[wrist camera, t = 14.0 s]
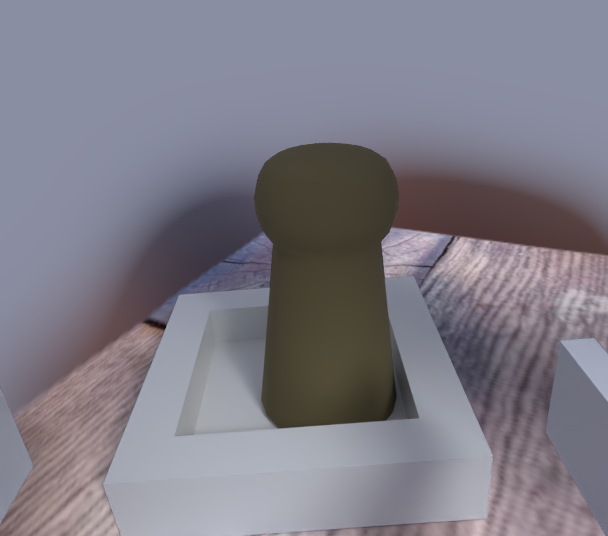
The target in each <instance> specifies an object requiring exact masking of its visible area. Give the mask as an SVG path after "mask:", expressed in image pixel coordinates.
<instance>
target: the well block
mask: <svg viewBox="0 0 608 536" xmlns="http://www.w3.org/2000/svg"><path fill="white" fill-rule="evenodd" d="M385 286H386V296H387V306H388V316H389V326H390V336H391V346H392V356H393V366H394V376H395V386H396V396H397V397H396V401H395V405H394V410H393V412H392V414H391V415H390V416H389V418H388V419H387V420H386V421H376V422H363V423H349V424H335V425H322V426H308V427H295V428H281V429H280V428H278V427H277V425H276V424H275V423H274V422H273V421H272V420H271V419H270V418H269V417H268V416H267V415H266V412H265V409H264V407H263V404H262V401H261V396H262V383H263V370H264V356H265V343H266V330H267V317H268V304H269V291H270V288H257V289H245V290H232V291H220V292H207V293H195V294H182V295H179V297H178V299H177V302H176V304H175V306H174V309H173V311H172V314H171V316H170V319H169V321H168V324H167V326H166V329H165V331H164V334H163V336H162V339H161V341H160V344H159V346H158V349H157V351H156V354H155V356H154V359H153V361H152V364H151V366H150V369H149V371H148V374H147V376H146V379H145V381H144V384H143V386H142V388H141V391H140V393H139V396H138V398H137V401H136V403H135V406H134V408H133V411H132V413H131V416H130V418H129V421H128V423H127V426H126V428H125V431H124V433H123V436H122V438H121V441H120V443H119V446H118V448H117V451H116V453H115V456H114V458H113V461H112V463H111V466H110V468H109V470H108V473H107V475H106V478H105V480H104V483H103V486H104V489H105V491H106V494H107V497H108V500H109V503H110V506H111V509H112V511H113V514H114V517H115V520H116V523H117V526H118V528H119V531H120V534H121V536H241V535H256V534H270V533H285V532H299V531H313V530H328V529H342V528H357V527H371V526H386V525H400V524H414V523H429V522H443V521H458V520H472V519H487V511H488V501H489V491H490V482H491V472H492V462H493V455H492V453H491V450H490V448H489V446H488V443H487V441H486V439H485V437H484V434H483V432H482V430H481V428H480V425H479V423H478V421H477V418H476V416H475V414H474V412H473V409H472V407H471V405H470V403H469V400H468V398H467V396H466V393H465V391H464V389H463V387H462V384H461V382H460V380H459V378H458V375H457V373H456V371H455V369H454V366H453V364H452V362H451V359H450V357H449V355H448V353H447V350H446V348H445V346H444V344H443V341H442V339H441V337H440V334H439V332H438V330H437V328H436V325H435V323H434V321H433V319H432V316H431V314H430V312H429V309H428V307H427V305H426V303H425V300H424V298H423V296H422V294H421V291H420V289H419V287H418V284H417V282H416V280H415V278H414V276H407V277H394V278H385Z"/></svg>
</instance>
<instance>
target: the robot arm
mask: <svg viewBox="0 0 608 536" xmlns="http://www.w3.org/2000/svg"><path fill="white" fill-rule="evenodd" d="M546 433H547V435H548V437H549V439H550V440H551V442H552V444H553V446H554V447H555V449H556V451H557V452H558V454H559V456H560V458H561V459H562V461H563V463H564V465H565V466H566V468H567V470H568V472H569V473H570V475H571V477H572V478H573V480H574V482H575V484H576V485H577V487H578V489H579V491H580V492H581V494H582V496H583V497H584V499H585V501H586V503H587V504H588V506H589V508H590V510H591V511H592V513H593V515H594V516H595V518H596V520H597V522H598V523H599V525H600V527H601V529H602V530H603V532H604V534H605V535H606V536H608V353H607V352H606V351H605V350H604V349H603V348H602V347H601V346H600V344H599V343H598V342H597V341H596V340H595V339H594V338H589V339H575V340H561V341H560V344H559V350H558V356H557V363H556V369H555V375H554V382H553V388H552V394H551V400H550V407H549V413H548V419H547V426H546ZM32 468H33V463H32V461H31V459H30V456H29V454H28V451H27V449H26V447H25V444H24V442H23V440H22V437H21V435H20V433H19V430H18V428H17V425H16V423H15V421H14V418H13V416H12V414H11V411H10V409H9V407H8V404H7V402H6V399H5V397H4V395H3V393H2V390H1V388H0V523H1V522H2V520H3V518H4V516H5V515H6V513H7V511H8V510H9V508H10V506H11V504H12V503H13V501H14V499H15V497H16V496H17V494H18V492H19V491H20V489H21V487H22V485H23V484H24V482H25V480H26V478H27V477H28V475H29V473H30V472H31V470H32Z"/></svg>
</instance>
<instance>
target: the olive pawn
mask: <svg viewBox="0 0 608 536" xmlns="http://www.w3.org/2000/svg"><path fill="white" fill-rule="evenodd" d="M254 200H255V210H256V215H257V217H258V220H259V223H260V226H261V228H262V230H263V231H264V233H265V234H266V236H267V237H268V238H269V239H270V240H271V242H272V243H273V251H272V264H271V278H270V291H269V304H268V317H267V330H266V343H265V356H264V370H263V383H262V396H261V401H262V404H263V407H264V409H265V412H266V415H267V416H268V417H269V418H270V419H271V420H272V421H273V422H274V423H275V424H276V425H277V427H278V428H280V429H281V428H295V427H308V426H322V425H335V424H349V423H363V422H376V421H386V420H387V419H388V418H389V416H390V415H391V414H392V412H393V410H394V405H395V401H396V397H397V396H396V386H395V376H394V366H393V356H392V346H391V336H390V326H389V316H388V306H387V296H386V286H385V276H384V266H383V256H382V246H381V241H382V240H383V239H384V238H385V236H386V235H387V234H388V233H389V231H390V229H391V227H392V224H393V221H394V218H395V216H396V213H397V210H398V200H399V191H398V185H397V180H396V177H395V175H394V172H393V170H392V169H391V167H390V165H389V163H388V162H387V160H386V159H385V158H383V157H382V156H380V155H379V154H377V153H376V152H374V151H372V150H371V149H368V148H364V147H361V146H357V145H351V144H340V143H315V144H308V145H300V146H297V147H292V148H288V149H286V150H283V151H281V152H279V153H277V154H276V155H274V156H273V157H271V158H270V159H269V160H268V161H266V162H265V164H264V166H263V167H262V169H261V171H260V173H259V175H258V179H257V184H256V190H255V196H254Z"/></svg>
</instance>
